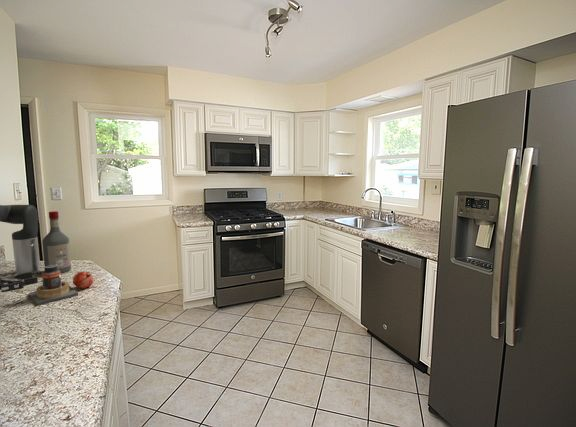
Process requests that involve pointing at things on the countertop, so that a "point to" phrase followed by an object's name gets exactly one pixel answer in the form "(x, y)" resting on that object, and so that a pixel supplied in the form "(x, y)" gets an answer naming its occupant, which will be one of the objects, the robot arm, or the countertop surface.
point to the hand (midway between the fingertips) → (34, 277)
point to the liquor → (56, 246)
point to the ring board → (52, 294)
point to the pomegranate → (83, 280)
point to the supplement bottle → (51, 278)
